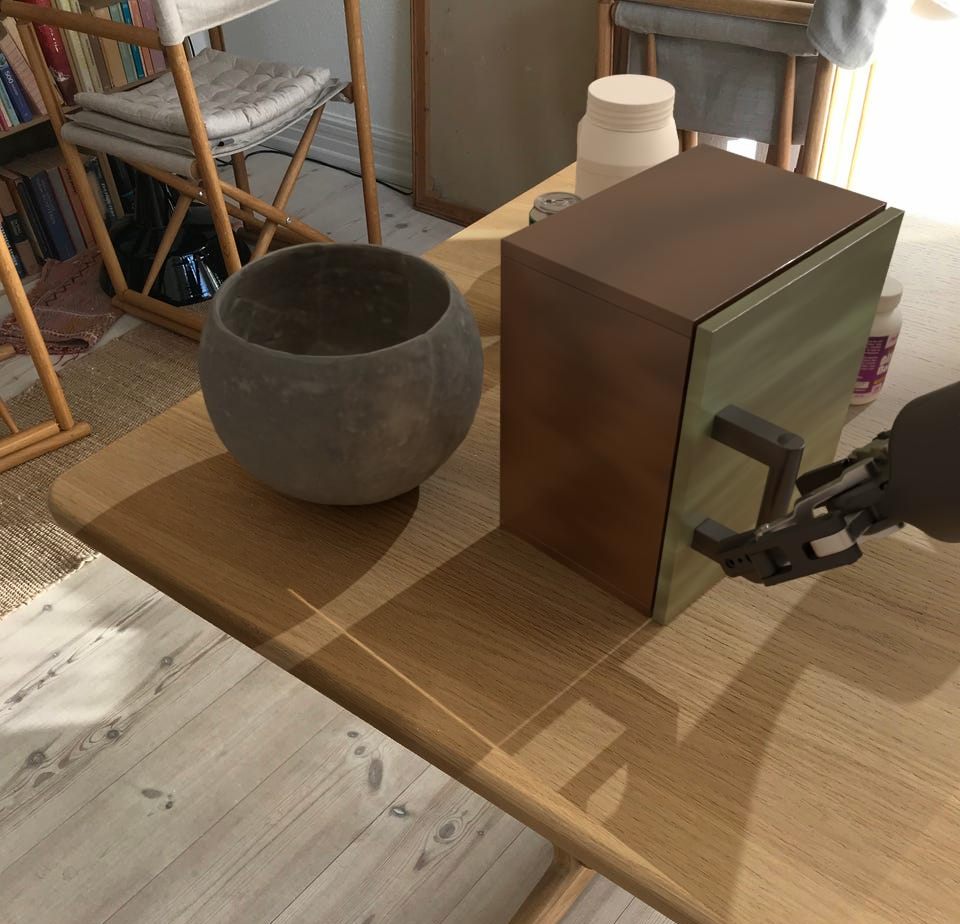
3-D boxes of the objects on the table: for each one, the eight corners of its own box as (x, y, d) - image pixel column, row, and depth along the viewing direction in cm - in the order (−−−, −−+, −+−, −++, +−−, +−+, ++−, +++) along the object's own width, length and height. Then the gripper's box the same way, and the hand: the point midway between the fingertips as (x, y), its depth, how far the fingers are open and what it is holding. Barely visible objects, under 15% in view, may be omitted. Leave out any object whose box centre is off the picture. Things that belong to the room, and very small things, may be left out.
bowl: (366, 595, 72) (342, 411, 61) (168, 487, 81) (118, 309, 70) (534, 455, 83) (539, 278, 72) (344, 373, 92) (324, 204, 81)
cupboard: (810, 487, 80) (887, 202, 64) (648, 619, 70) (693, 321, 54) (664, 415, 87) (702, 142, 71) (499, 526, 77) (500, 238, 61)
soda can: (582, 344, 95) (591, 214, 86) (527, 344, 95) (530, 215, 86) (578, 316, 98) (586, 188, 90) (525, 316, 98) (528, 189, 90)
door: (887, 523, 77) (988, 237, 61) (729, 667, 67) (800, 370, 51) (813, 487, 80) (890, 205, 64) (651, 619, 70) (696, 325, 54)
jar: (667, 269, 105) (687, 111, 94) (572, 267, 105) (581, 110, 94) (660, 219, 113) (677, 68, 102) (572, 218, 113) (579, 68, 102)
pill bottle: (883, 410, 87) (916, 303, 80) (818, 404, 88) (845, 298, 81) (877, 375, 91) (909, 270, 84) (815, 370, 91) (841, 265, 84)
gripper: (1054, 314, 51) (800, 420, 65) (909, 437, 44) (659, 527, 58) (1117, 448, 52) (855, 524, 66) (986, 589, 45) (724, 641, 59)
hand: (764, 525), depth 62 cm, fingers open, 8 cm apart
